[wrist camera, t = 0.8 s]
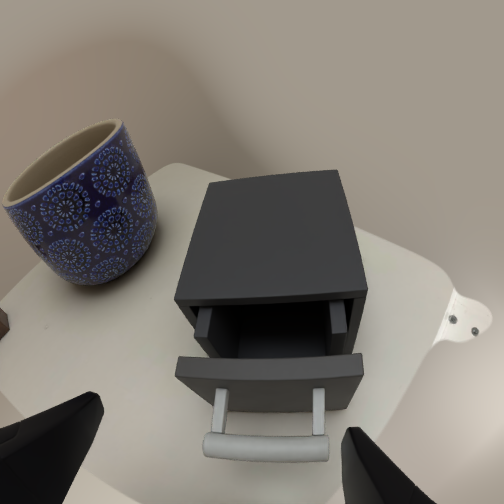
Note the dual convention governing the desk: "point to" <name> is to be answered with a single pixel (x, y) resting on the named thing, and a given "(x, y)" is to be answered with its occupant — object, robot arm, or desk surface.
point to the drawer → (272, 373)
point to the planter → (86, 205)
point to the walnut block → (3, 323)
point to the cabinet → (274, 247)
